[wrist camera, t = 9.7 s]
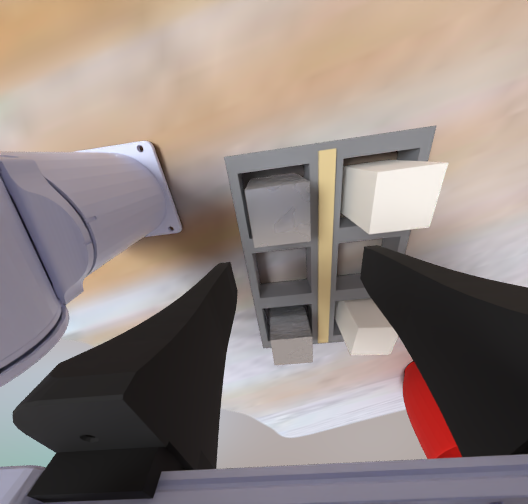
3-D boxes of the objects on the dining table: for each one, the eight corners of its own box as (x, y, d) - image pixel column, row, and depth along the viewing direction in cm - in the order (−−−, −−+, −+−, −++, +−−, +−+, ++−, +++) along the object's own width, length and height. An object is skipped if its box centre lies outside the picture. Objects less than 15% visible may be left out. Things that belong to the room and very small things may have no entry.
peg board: (263, 331, 26) (263, 350, 24) (229, 156, 16) (223, 157, 14) (373, 321, 25) (385, 340, 23) (411, 129, 15) (440, 124, 13)
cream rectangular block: (331, 311, 25) (350, 355, 19) (336, 287, 23) (358, 327, 17) (362, 311, 24) (389, 354, 19) (369, 286, 23) (402, 327, 17)
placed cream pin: (338, 210, 18) (368, 234, 13) (340, 166, 16) (377, 172, 11) (380, 205, 18) (429, 227, 13) (387, 159, 16) (448, 162, 11)
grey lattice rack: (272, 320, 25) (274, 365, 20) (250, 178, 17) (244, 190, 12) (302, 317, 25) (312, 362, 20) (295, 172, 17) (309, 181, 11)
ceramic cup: (463, 311, 24) (577, 401, 16) (474, 375, 31) (558, 463, 22) (366, 345, 28) (414, 436, 19) (394, 397, 34) (440, 481, 25)
